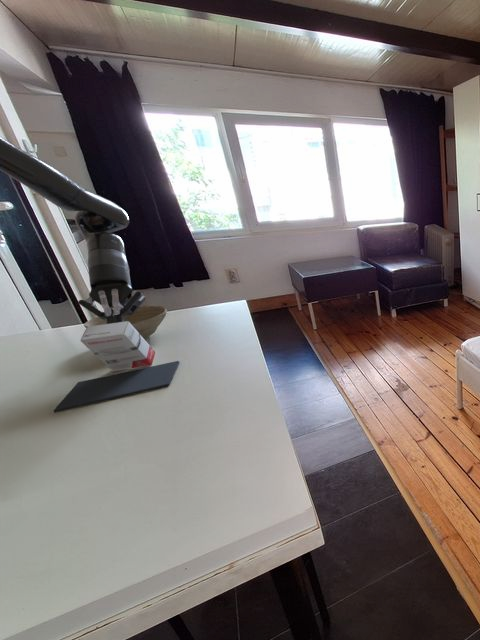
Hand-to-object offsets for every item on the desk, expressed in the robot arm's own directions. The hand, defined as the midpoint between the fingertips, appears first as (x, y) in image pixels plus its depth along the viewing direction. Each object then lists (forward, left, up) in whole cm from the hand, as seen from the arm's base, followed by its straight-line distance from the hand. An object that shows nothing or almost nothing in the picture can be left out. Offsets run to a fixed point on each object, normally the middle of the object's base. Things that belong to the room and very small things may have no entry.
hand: (117, 331), depth 89 cm
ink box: (0, +1, -9) cm, 9 cm away
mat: (0, -11, -10) cm, 15 cm away
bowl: (-4, +21, -10) cm, 24 cm away
